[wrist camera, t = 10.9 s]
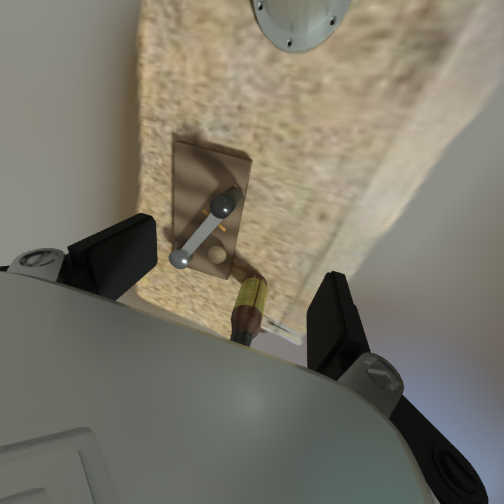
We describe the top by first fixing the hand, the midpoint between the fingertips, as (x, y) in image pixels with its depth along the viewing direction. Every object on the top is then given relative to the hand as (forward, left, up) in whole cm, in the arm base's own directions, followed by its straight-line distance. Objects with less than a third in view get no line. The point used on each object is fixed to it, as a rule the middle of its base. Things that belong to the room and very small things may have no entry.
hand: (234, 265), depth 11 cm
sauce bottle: (+26, +1, -31) cm, 40 cm away
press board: (+12, -13, -30) cm, 35 cm away
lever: (+14, -12, -28) cm, 33 cm away
